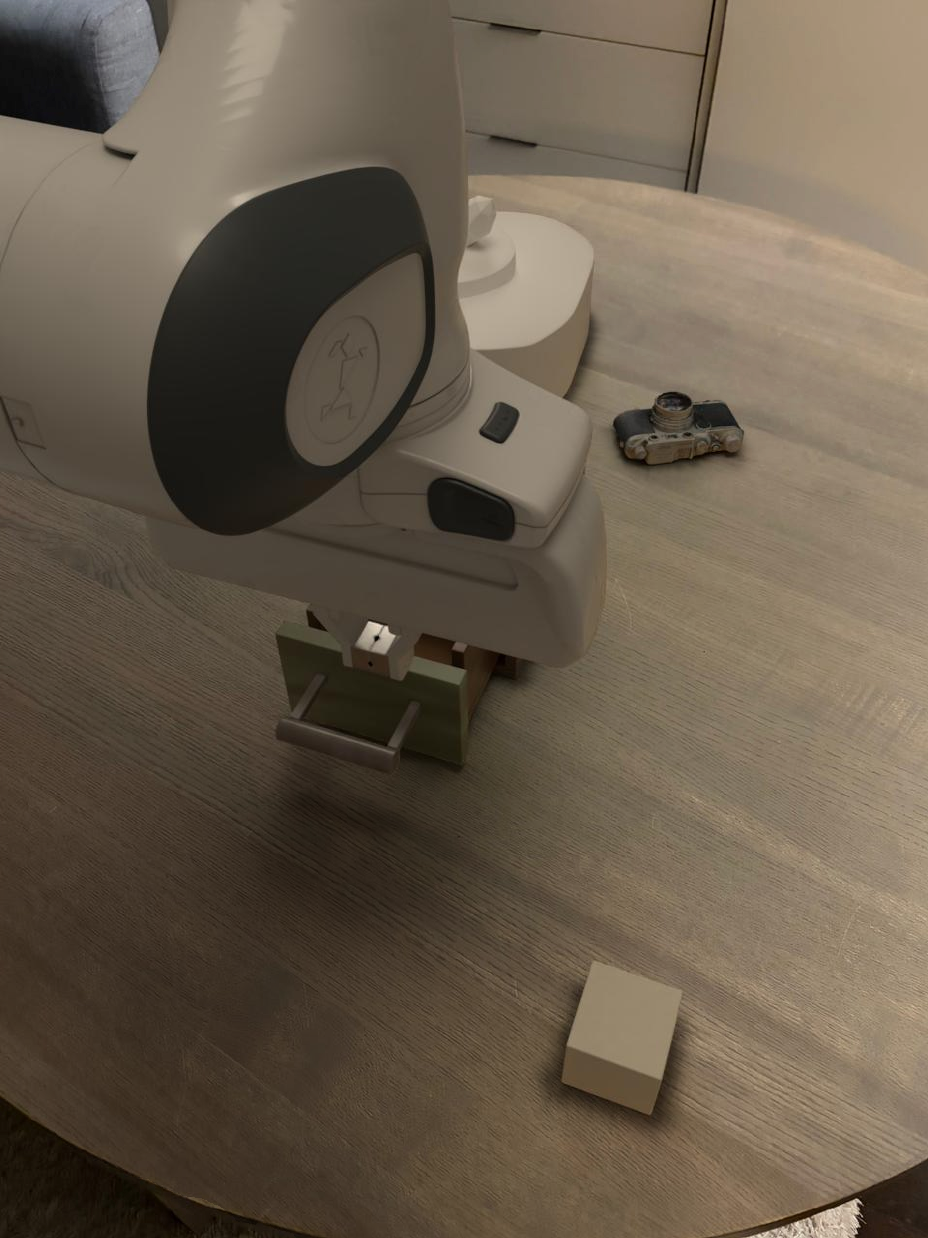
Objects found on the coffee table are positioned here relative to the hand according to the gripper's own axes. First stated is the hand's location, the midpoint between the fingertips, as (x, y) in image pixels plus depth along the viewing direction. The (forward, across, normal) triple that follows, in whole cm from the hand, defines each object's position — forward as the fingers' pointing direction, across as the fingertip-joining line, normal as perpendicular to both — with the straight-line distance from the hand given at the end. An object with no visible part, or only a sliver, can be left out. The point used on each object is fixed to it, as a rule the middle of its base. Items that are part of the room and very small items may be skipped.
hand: (379, 664), depth 49 cm
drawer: (+14, -4, +10) cm, 17 cm away
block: (+15, +15, -8) cm, 22 cm away
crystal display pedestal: (+15, -16, +51) cm, 55 cm away
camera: (+15, +7, +43) cm, 46 cm away
